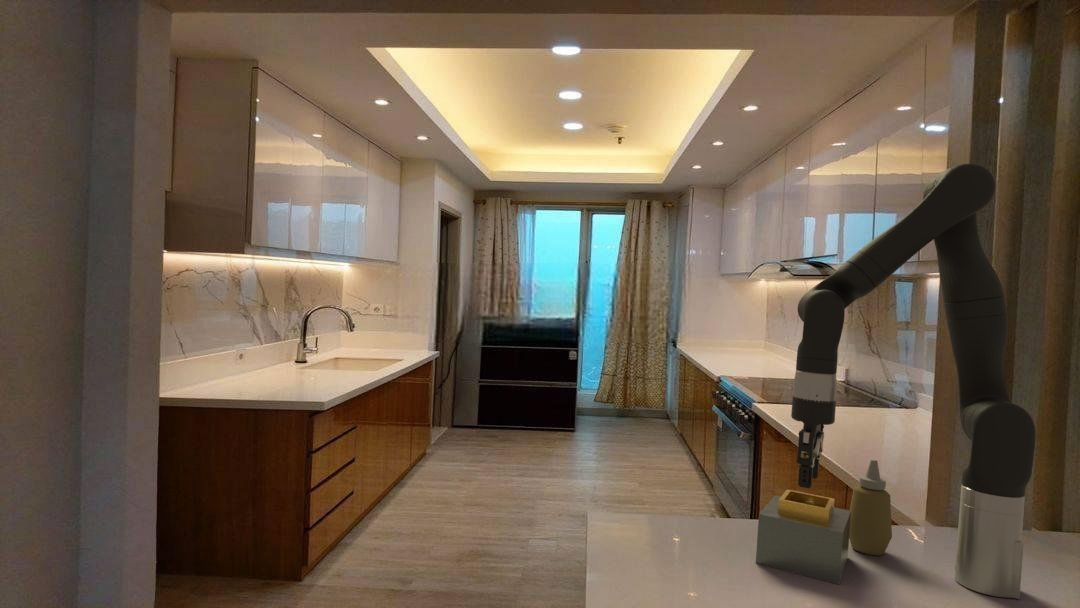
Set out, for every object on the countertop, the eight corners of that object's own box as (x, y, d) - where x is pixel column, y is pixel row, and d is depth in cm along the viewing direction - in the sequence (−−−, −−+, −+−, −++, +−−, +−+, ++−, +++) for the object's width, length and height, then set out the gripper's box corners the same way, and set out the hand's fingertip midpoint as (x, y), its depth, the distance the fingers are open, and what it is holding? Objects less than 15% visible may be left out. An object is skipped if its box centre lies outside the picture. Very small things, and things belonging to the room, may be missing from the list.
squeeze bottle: (880, 544, 132) (886, 457, 131) (898, 560, 123) (904, 467, 123) (839, 540, 132) (845, 453, 132) (854, 556, 124) (861, 463, 124)
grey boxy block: (847, 557, 123) (851, 497, 123) (839, 584, 110) (843, 518, 110) (771, 539, 131) (775, 483, 130) (755, 562, 118) (759, 500, 118)
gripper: (831, 403, 112) (825, 495, 112) (840, 395, 124) (834, 478, 125) (786, 397, 116) (780, 486, 116) (799, 390, 128) (793, 470, 128)
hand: (808, 482), depth 120 cm, fingers open, 8 cm apart
